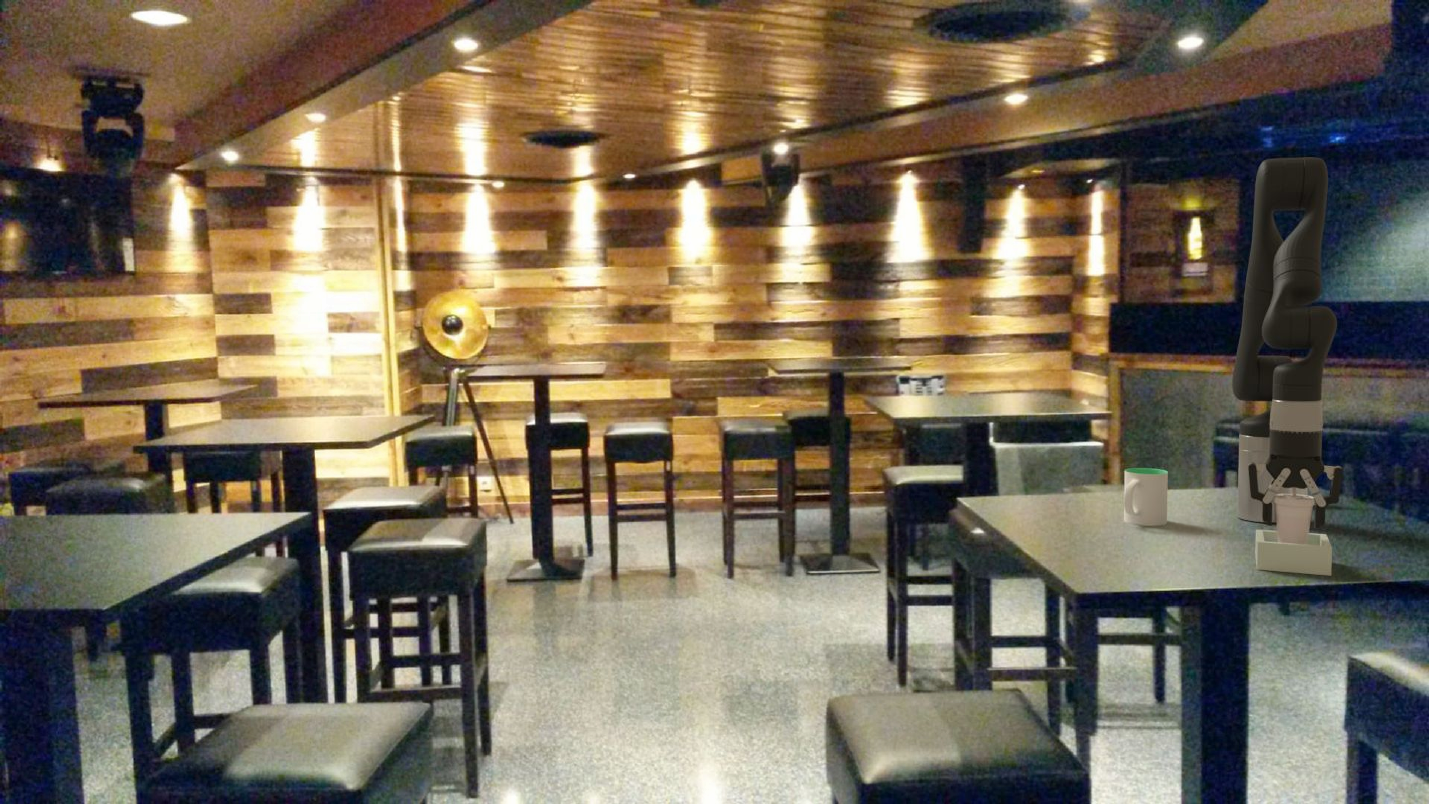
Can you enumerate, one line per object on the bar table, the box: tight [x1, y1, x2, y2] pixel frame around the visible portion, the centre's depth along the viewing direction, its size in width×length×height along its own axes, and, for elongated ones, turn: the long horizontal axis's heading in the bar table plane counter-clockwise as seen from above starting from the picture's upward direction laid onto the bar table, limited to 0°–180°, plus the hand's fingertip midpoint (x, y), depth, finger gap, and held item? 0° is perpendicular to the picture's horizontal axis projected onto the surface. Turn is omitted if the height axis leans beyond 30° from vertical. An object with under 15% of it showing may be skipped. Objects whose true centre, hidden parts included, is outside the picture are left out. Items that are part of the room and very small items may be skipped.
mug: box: [1123, 467, 1169, 527], centre depth 204 cm, size 12×8×10 cm, turn 136°
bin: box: [1254, 529, 1333, 577], centre depth 169 cm, size 10×10×5 cm
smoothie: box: [1272, 487, 1316, 544], centre depth 168 cm, size 6×6×14 cm
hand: (1292, 526), depth 169 cm, fingers closed on smoothie, 6 cm apart
